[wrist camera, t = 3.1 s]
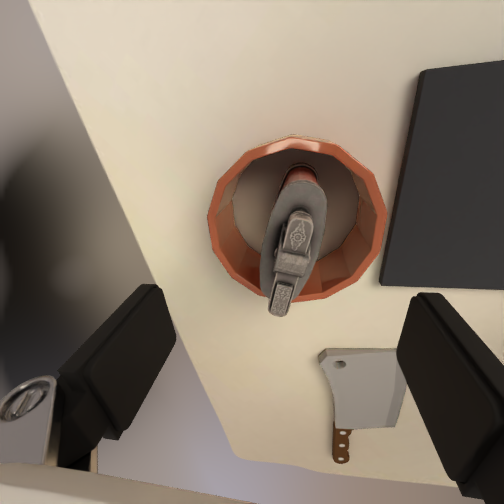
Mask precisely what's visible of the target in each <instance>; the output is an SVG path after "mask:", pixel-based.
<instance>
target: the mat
mask: <svg viewBox="0 0 504 504" xmlns="http://www.w3.org/2000/svg"><path fill="white" fill-rule="evenodd" d="M379 282H380V284H381V286H405V287H434V288H464V289H493V290H504V60H501V61H493V62H484V63H476V64H468V65H459V66H451V67H443V68H434V69H426V70H424V71H422V72H421V73H420V77H419V82H418V87H417V92H416V97H415V102H414V107H413V112H412V117H411V122H410V127H409V132H408V137H407V142H406V147H405V152H404V157H403V163H402V168H401V173H400V178H399V183H398V188H397V193H396V198H395V203H394V208H393V213H392V218H391V223H390V228H389V233H388V238H387V243H386V248H385V253H384V258H383V263H382V268H381V273H380V278H379Z"/></svg>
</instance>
